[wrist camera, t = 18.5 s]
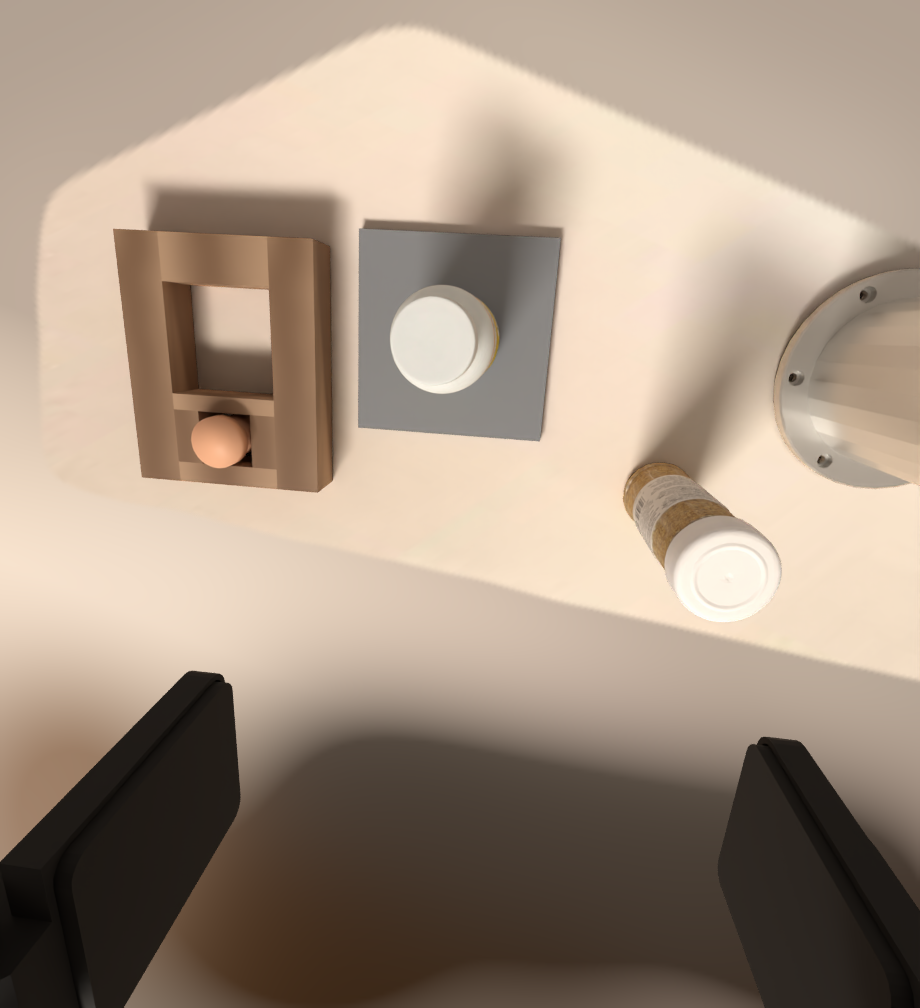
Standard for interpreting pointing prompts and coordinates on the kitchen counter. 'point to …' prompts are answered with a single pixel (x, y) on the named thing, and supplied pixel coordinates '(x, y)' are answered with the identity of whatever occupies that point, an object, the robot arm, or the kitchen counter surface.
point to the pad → (492, 279)
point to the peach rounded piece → (222, 439)
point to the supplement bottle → (443, 339)
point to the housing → (172, 356)
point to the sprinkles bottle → (702, 545)
